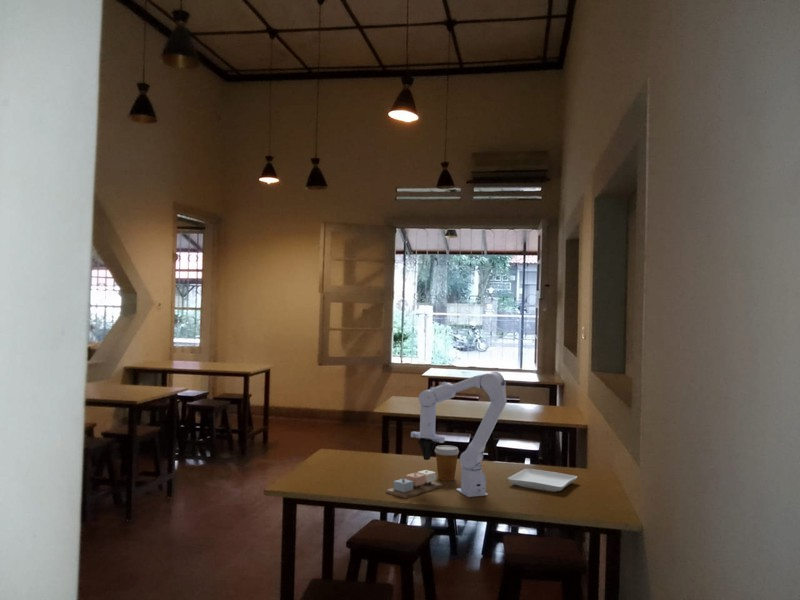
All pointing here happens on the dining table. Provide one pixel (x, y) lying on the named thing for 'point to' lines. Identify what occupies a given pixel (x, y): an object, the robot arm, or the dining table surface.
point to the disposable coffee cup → (446, 461)
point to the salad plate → (542, 480)
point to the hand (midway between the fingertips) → (426, 459)
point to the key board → (415, 489)
